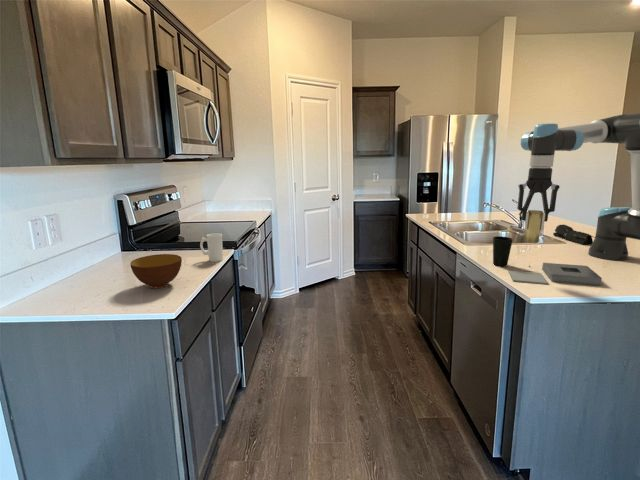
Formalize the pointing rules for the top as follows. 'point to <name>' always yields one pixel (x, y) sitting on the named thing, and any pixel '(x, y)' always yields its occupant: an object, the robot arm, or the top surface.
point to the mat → (528, 277)
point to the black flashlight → (572, 235)
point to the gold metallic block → (533, 226)
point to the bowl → (156, 269)
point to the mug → (213, 247)
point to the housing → (571, 274)
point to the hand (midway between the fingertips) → (533, 229)
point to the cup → (501, 250)
